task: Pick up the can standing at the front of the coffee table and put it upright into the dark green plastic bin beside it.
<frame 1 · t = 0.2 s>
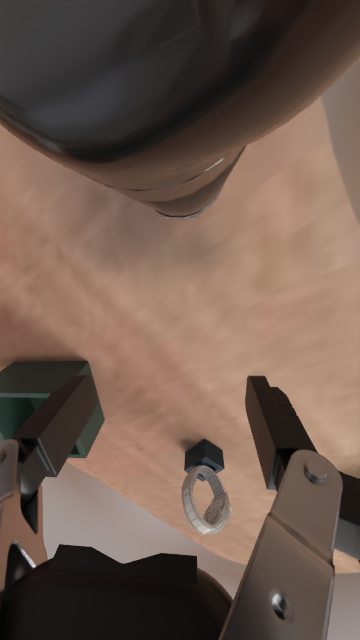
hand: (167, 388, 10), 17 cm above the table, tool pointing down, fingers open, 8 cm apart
watch: (204, 450, 38), on the table
bin: (61, 392, 35), on the table
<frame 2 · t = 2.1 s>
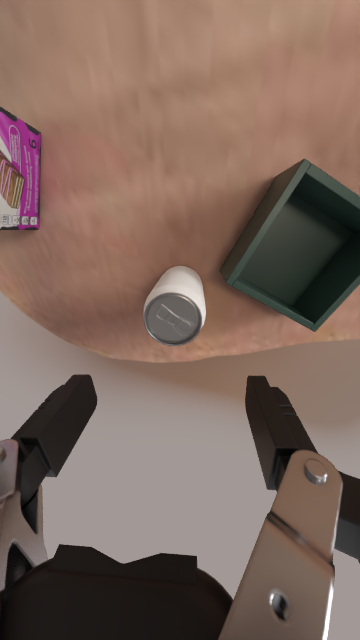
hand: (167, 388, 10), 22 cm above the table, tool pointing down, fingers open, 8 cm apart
candy bar box: (25, 179, 26), on the table
can: (180, 286, 31), on the table
bin: (284, 251, 27), on the table
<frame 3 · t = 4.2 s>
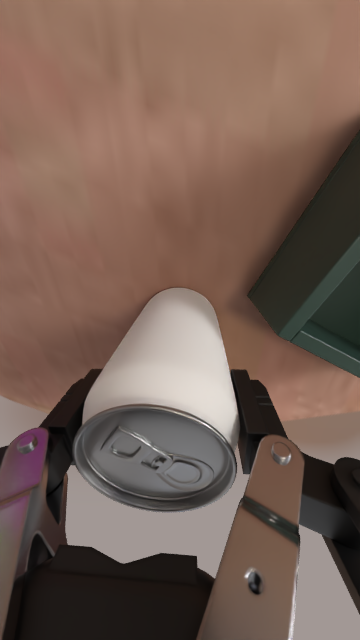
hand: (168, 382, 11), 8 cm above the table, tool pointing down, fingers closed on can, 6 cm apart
can: (179, 321, 18), on the table, touching gripper
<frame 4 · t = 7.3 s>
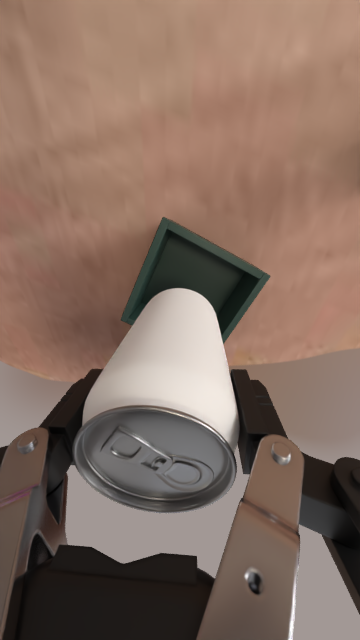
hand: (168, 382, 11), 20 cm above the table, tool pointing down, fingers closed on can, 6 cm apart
can: (179, 321, 18), point 13 cm above the table, touching gripper
bin: (191, 285, 29), on the table
when the fingers open (9 cm above the table, at t = 10.6 s): can stays where it is, resting on bin.
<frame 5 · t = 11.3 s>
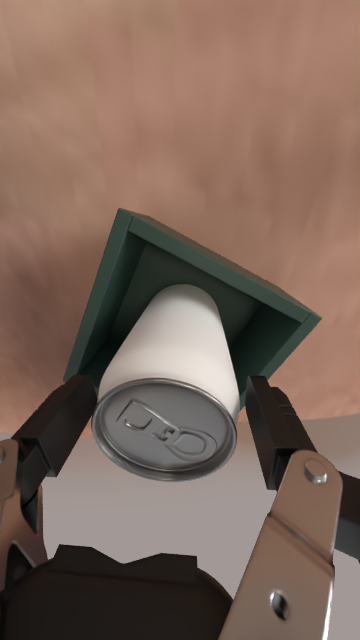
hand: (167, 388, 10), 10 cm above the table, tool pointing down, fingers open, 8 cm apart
can: (183, 316, 19), point 1 cm above the table, touching bin
bin: (182, 314, 20), on the table
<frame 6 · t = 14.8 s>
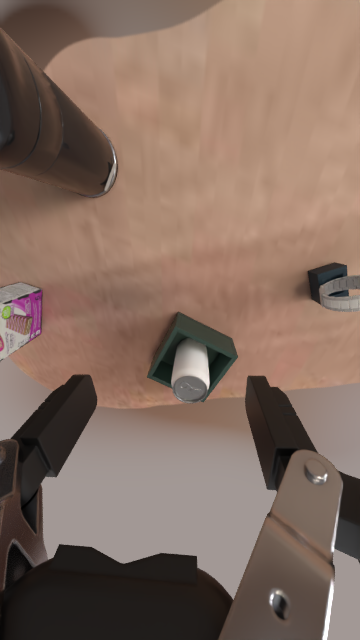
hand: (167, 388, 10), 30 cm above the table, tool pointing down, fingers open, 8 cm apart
candy bar box: (32, 308, 44), on the table
can: (191, 349, 44), point 1 cm above the table, touching bin
watch: (322, 280, 37), on the table
bin: (191, 348, 44), on the table
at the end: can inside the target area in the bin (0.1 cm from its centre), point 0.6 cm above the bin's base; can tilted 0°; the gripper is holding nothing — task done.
